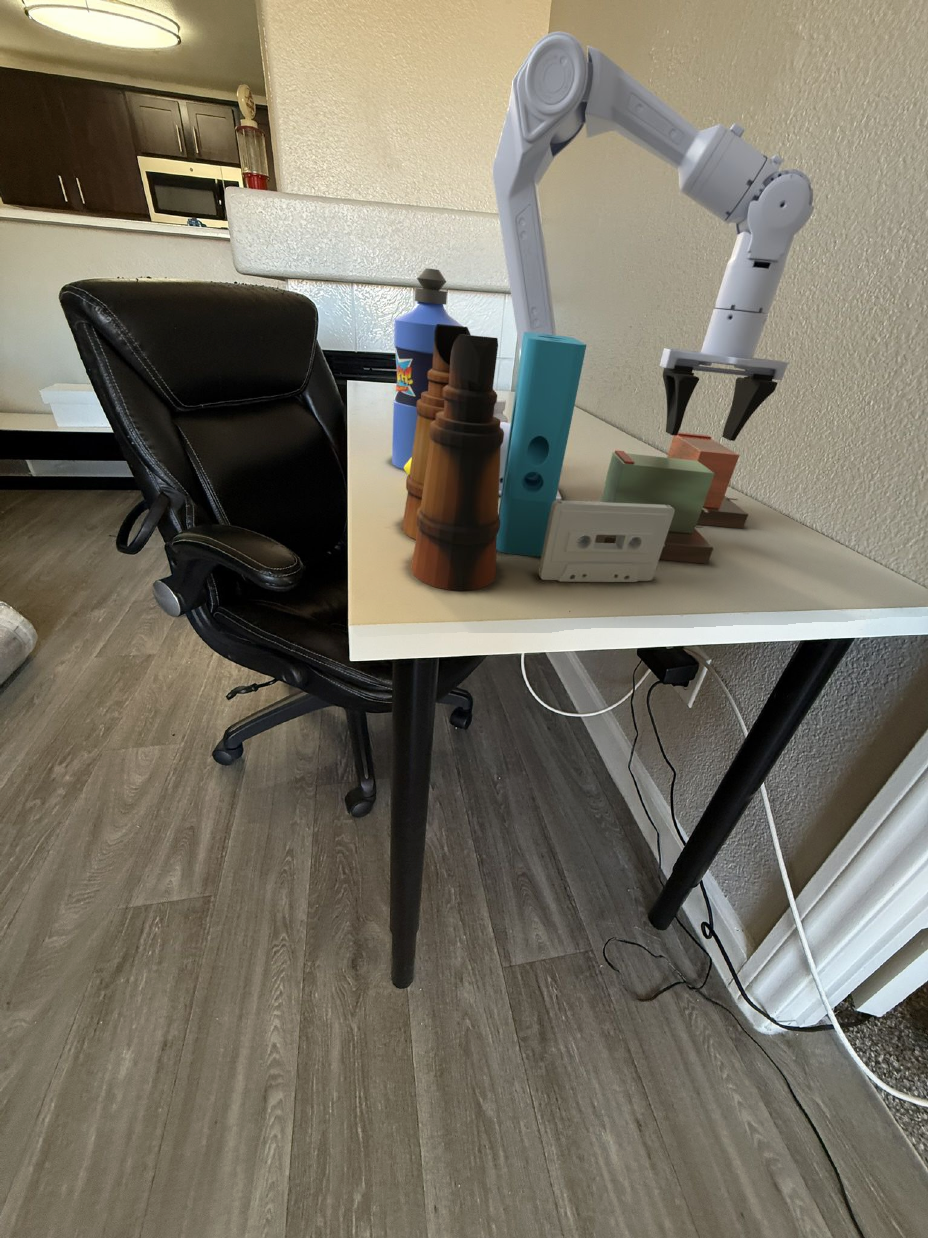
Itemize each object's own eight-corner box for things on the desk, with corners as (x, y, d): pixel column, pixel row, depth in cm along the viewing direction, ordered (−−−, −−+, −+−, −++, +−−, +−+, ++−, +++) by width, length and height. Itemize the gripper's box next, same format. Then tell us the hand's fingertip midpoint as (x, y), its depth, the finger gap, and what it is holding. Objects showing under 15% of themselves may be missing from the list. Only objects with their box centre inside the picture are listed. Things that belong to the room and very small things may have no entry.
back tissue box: (719, 508, 69) (740, 453, 65) (682, 504, 68) (701, 448, 65) (692, 485, 77) (709, 435, 73) (659, 481, 77) (674, 431, 73)
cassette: (541, 582, 50) (556, 505, 46) (535, 573, 51) (549, 498, 47) (655, 583, 52) (679, 510, 48) (646, 574, 53) (669, 502, 49)
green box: (678, 518, 64) (698, 458, 60) (693, 533, 59) (715, 470, 56) (598, 510, 63) (613, 449, 59) (607, 525, 59) (624, 461, 55)
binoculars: (505, 590, 47) (544, 345, 37) (415, 591, 46) (430, 334, 35) (467, 516, 63) (486, 327, 52) (398, 514, 61) (404, 318, 50)
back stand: (754, 532, 68) (761, 516, 67) (648, 521, 67) (653, 506, 66) (712, 497, 80) (717, 483, 79) (621, 488, 80) (625, 473, 78)
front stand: (721, 569, 57) (728, 551, 55) (593, 557, 56) (597, 538, 55) (677, 521, 69) (682, 506, 67) (571, 511, 68) (575, 495, 67)
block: (544, 564, 53) (588, 345, 43) (495, 558, 53) (527, 338, 43) (537, 522, 63) (571, 337, 53) (497, 517, 63) (523, 331, 53)
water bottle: (404, 474, 74) (412, 264, 61) (382, 456, 81) (385, 264, 68) (462, 471, 78) (481, 274, 65) (436, 454, 85) (449, 272, 72)
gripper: (694, 305, 54) (657, 438, 61) (822, 320, 56) (771, 449, 63) (668, 303, 60) (636, 425, 67) (784, 317, 62) (741, 435, 69)
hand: (699, 436), depth 66 cm, fingers open, 7 cm apart
